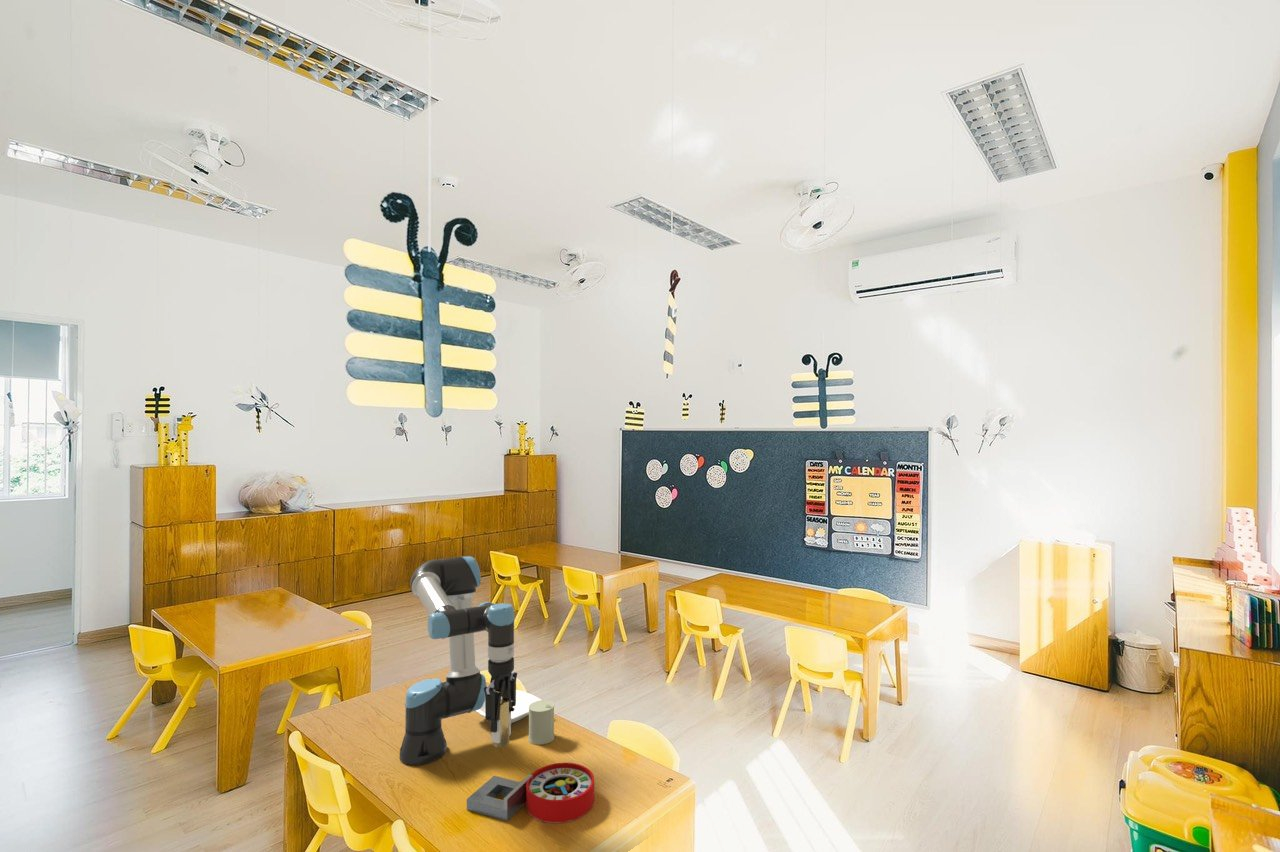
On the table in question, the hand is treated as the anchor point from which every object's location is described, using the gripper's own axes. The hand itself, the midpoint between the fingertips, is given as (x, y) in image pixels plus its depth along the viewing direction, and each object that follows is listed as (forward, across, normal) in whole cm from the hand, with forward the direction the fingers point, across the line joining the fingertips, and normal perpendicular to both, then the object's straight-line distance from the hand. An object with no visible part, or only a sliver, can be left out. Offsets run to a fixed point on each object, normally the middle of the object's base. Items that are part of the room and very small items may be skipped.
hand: (501, 737), depth 173 cm
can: (+19, +37, +9) cm, 42 cm away
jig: (+19, 0, 0) cm, 19 cm away
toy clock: (+19, +7, -16) cm, 26 cm away
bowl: (+19, +45, +29) cm, 57 cm away
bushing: (+2, 0, 0) cm, 2 cm away
